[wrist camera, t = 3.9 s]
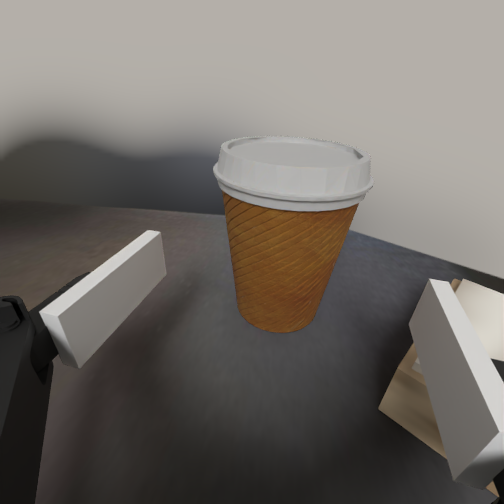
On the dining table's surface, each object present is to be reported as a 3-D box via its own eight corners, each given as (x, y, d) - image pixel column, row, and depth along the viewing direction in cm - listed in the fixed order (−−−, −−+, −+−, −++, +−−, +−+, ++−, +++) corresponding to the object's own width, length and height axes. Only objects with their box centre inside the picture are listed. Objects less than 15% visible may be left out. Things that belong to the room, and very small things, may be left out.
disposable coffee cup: (307, 377, 17) (351, 184, 11) (191, 313, 22) (176, 148, 15) (352, 295, 24) (394, 148, 18) (257, 259, 28) (265, 130, 22)
